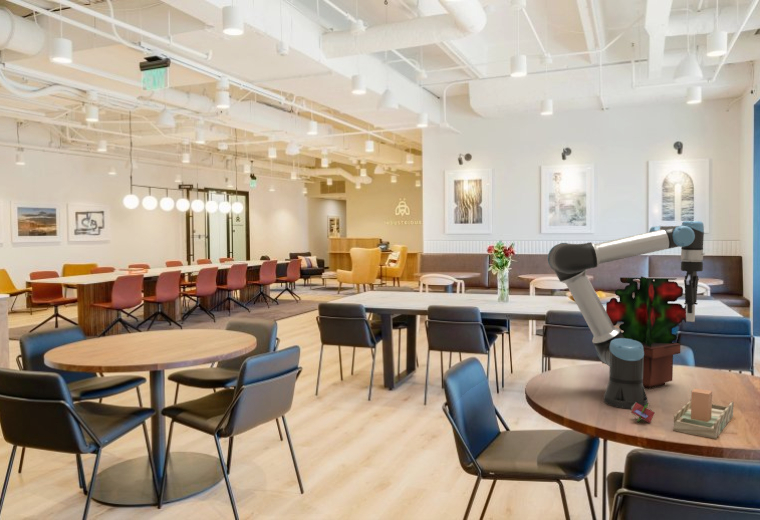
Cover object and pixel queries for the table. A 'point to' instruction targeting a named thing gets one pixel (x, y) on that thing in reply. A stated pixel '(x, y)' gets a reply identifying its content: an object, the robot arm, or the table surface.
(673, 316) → the potted plant
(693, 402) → the block
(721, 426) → the beige open frame
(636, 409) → the icosahedron model
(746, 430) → the table surface
